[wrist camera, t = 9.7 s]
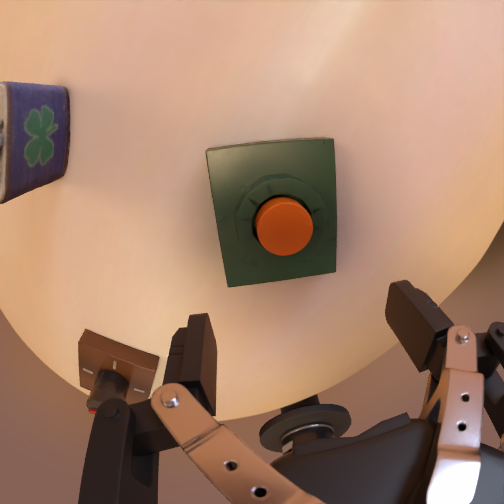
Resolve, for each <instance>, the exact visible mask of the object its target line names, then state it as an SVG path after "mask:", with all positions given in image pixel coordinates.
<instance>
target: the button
mask: <svg viewBox="0 0 504 504" xmlns="http://www.w3.org/2000/svg"><path fill="white" fill-rule="evenodd" d="M255 226H256V231H257V235H258V238H259V241H260V243H261V244H262V246H263V247H264V248H265V249H266V250H267V251H269V252H270V253H273V254H276V255H280V256H286V255H292V254H295V253H297V252H299V251H300V250H302V249H303V248H304V247H305V246H306V245H307V243H308V242H309V240H310V238H311V236H312V232H313V223H312V219H311V217H310V215H309V213H308V212H307V211H306V210H305V208H304V207H303V206H302V205H301V204H300V203H299V202H297V201H296V200H294V199H292V198H288V197H277V198H274V199H271V200H269V201H268V202H266V203H265V204H264V205H263V206H262V207H261V208H260V210H259V211H258V213H257V216H256V221H255Z"/></svg>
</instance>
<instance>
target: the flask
mask: <svg viewBox="0 0 504 504" xmlns="http://www.w3.org/2000/svg"><path fill="white" fill-rule="evenodd" d="M69 108H70V107H69V97H68V92H67V90H66V89H65V88H64V87H62V86H54V85H42V84H33V83H18V82H0V204H3V203H5V202H7V201H9V200H11V199H14V198H16V197H18V196H20V195H23V194H24V193H27V192H29V191H32V190H34V189H36V188H38V187H41V186H43V185H46V184H49V183H51V182H53V181H55V180H57V179H59V178H61V177H62V176H64V174H65V172H66V167H67V163H68V153H69V143H70V140H69V136H70V132H69V125H70V123H69V116H70V114H69V110H70V109H69Z"/></svg>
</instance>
